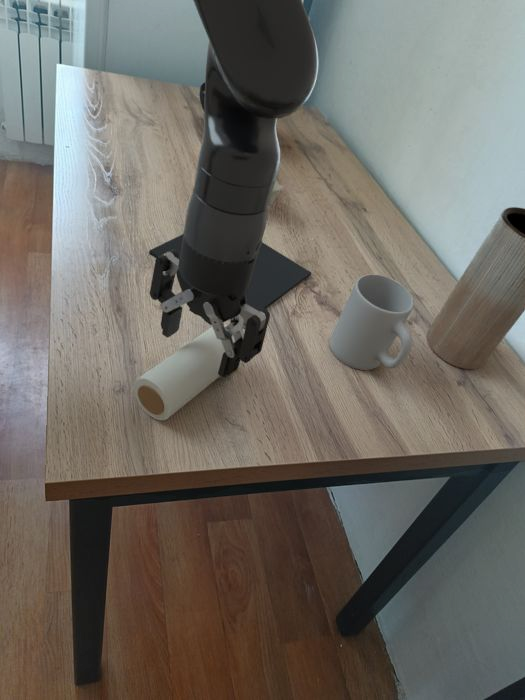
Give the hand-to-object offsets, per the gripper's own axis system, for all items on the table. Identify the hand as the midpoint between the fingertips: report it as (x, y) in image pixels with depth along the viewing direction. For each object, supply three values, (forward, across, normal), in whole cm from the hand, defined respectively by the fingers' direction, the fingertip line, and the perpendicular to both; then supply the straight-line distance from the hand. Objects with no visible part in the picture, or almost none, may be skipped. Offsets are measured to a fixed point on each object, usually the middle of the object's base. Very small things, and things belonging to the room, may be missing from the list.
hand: (197, 352), depth 63 cm
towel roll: (+6, 0, 0) cm, 6 cm away
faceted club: (+6, -26, +50) cm, 57 cm away
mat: (+6, -12, +25) cm, 28 cm away
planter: (+6, +24, +38) cm, 45 cm away
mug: (+6, +14, +23) cm, 27 cm away
